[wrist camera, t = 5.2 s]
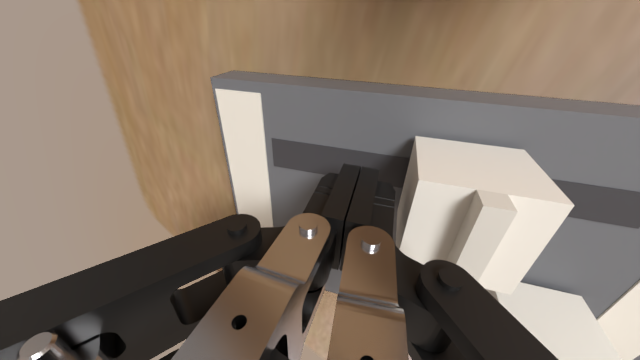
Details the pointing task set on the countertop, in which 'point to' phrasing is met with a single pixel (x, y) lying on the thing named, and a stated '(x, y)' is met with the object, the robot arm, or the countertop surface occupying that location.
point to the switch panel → (457, 125)
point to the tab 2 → (558, 322)
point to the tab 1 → (478, 209)
